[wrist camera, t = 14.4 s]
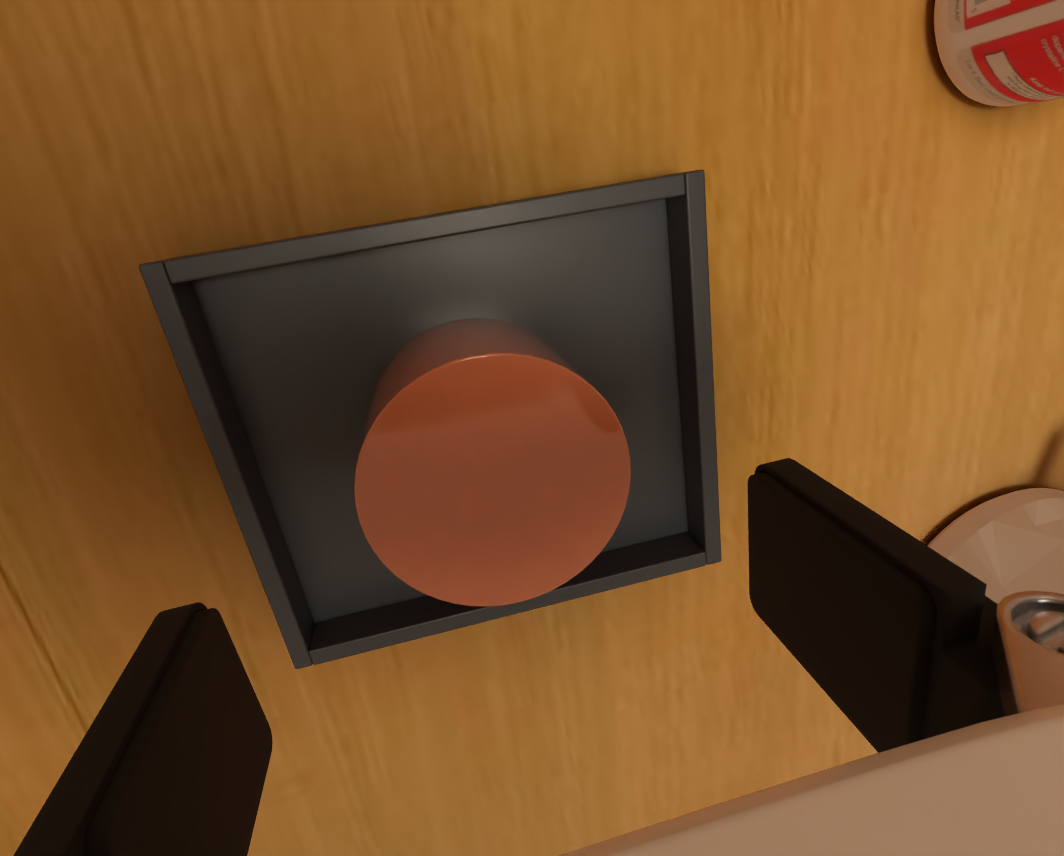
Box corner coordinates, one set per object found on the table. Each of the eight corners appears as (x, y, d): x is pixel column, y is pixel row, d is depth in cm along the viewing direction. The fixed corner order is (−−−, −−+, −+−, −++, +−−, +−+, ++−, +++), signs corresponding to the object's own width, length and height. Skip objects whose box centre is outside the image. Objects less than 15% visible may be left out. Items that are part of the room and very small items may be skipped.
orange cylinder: (397, 539, 20) (392, 635, 16) (342, 341, 18) (317, 386, 13) (592, 493, 21) (642, 571, 17) (566, 298, 19) (617, 327, 14)
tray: (305, 631, 21) (294, 670, 20) (167, 258, 17) (136, 264, 15) (697, 534, 23) (722, 561, 21) (675, 173, 18) (705, 168, 17)
